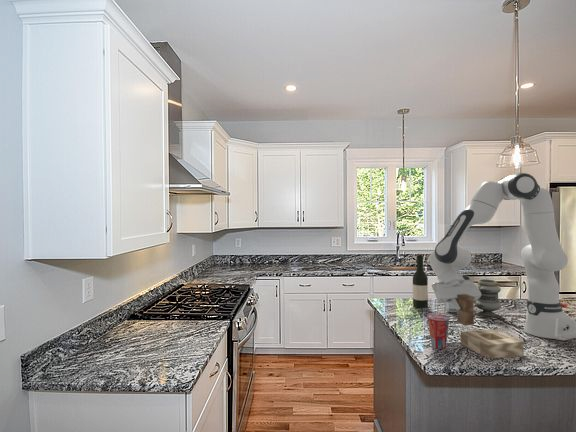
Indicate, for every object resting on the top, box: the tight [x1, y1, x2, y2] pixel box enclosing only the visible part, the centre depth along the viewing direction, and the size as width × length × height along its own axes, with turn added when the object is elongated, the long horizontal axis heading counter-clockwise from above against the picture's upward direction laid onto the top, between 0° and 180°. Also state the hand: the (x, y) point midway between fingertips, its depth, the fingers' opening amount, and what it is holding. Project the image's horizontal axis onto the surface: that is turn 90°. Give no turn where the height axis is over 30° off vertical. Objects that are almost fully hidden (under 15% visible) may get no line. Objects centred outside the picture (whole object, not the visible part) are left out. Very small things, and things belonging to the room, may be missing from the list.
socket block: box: [460, 328, 525, 360], centre depth 137 cm, size 15×15×5 cm
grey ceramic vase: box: [474, 278, 502, 319], centre depth 184 cm, size 12×12×18 cm
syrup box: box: [444, 301, 457, 313], centre depth 193 cm, size 6×6×14 cm
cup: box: [426, 313, 451, 350], centre depth 141 cm, size 9×8×12 cm
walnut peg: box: [456, 294, 475, 326], centre depth 151 cm, size 4×4×12 cm
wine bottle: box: [412, 253, 429, 309], centre depth 204 cm, size 8×8×30 cm
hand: (466, 308), depth 151 cm, fingers closed on walnut peg, 4 cm apart
